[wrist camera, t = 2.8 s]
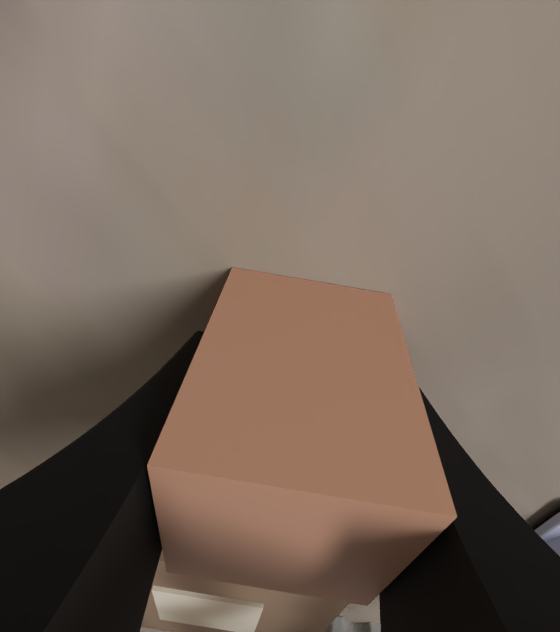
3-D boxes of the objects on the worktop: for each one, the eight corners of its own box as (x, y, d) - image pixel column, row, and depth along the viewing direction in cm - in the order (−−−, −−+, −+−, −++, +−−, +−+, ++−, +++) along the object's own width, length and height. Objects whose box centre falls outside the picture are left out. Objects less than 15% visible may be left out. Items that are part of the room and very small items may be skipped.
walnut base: (353, 523, 18) (358, 598, 16) (305, 600, 27) (304, 657, 24) (94, 481, 18) (57, 548, 16) (128, 570, 27) (107, 624, 24)
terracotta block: (391, 294, 10) (456, 516, 5) (350, 398, 13) (366, 605, 8) (232, 267, 10) (146, 466, 5) (225, 377, 13) (166, 572, 8)
